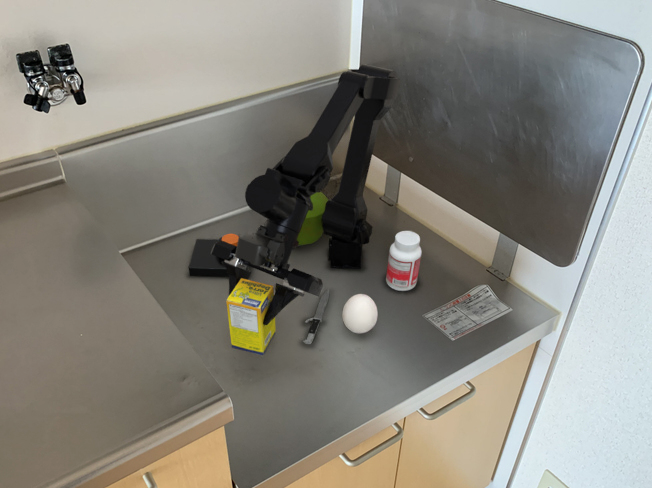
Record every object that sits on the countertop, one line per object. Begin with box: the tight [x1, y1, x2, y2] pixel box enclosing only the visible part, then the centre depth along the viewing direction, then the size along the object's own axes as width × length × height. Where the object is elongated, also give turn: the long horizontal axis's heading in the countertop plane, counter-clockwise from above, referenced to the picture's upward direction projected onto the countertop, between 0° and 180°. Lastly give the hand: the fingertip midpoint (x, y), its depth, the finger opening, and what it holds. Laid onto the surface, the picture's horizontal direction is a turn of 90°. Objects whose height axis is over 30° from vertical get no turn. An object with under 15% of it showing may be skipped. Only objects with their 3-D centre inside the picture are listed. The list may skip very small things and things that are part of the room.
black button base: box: [188, 235, 251, 278], centre depth 127 cm, size 12×10×4 cm
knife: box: [303, 289, 330, 345], centre depth 115 cm, size 15×1×3 cm
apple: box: [297, 191, 329, 246], centre depth 132 cm, size 12×12×11 cm
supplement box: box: [226, 278, 277, 356], centre depth 101 cm, size 6×6×11 cm
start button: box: [221, 233, 239, 246], centre depth 126 cm, size 4×4×2 cm
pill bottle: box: [385, 230, 423, 292], centre depth 120 cm, size 6×6×11 cm
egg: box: [341, 293, 379, 334], centre depth 111 cm, size 6×6×8 cm
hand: (247, 317), depth 99 cm, fingers closed on supplement box, 6 cm apart
